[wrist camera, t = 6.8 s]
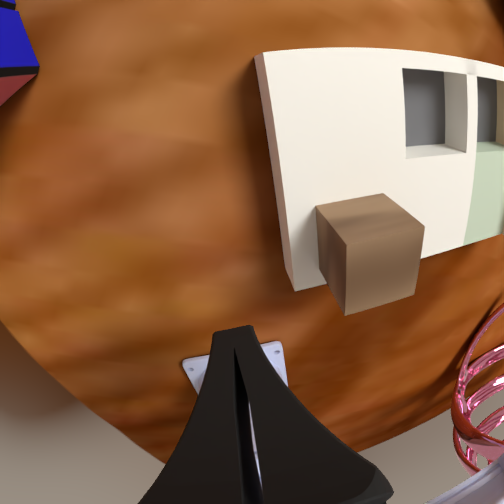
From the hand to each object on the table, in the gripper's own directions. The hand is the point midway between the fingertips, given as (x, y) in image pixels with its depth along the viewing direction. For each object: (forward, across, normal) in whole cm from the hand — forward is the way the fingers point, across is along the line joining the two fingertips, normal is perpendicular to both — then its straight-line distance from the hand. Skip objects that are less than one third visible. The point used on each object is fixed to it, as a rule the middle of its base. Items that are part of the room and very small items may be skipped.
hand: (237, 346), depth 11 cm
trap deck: (+9, -13, -3) cm, 16 cm away
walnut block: (+6, -7, 0) cm, 9 cm away
